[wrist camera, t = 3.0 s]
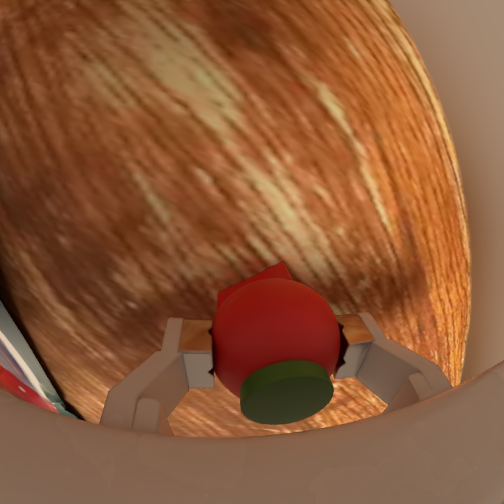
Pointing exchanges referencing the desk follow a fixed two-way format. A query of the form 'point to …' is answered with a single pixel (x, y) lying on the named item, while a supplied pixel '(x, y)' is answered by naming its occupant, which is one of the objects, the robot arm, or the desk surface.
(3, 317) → the cookie photo sheet
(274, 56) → the desk surface
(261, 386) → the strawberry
